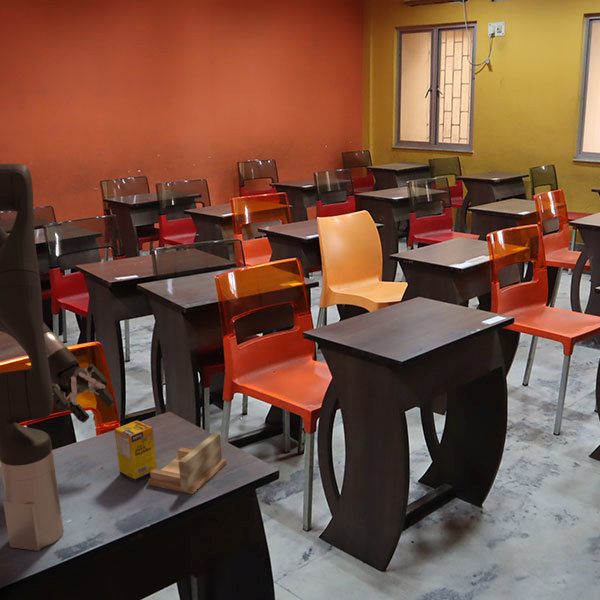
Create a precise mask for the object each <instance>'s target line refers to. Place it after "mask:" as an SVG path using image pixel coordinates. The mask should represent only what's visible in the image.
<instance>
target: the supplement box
mask: <svg viewBox="0 0 600 600" xmlns="http://www.w3.org/2000/svg"><path fill="white" fill-rule="evenodd" d="M153 429H154V428H153V427H152V426H151V425H148V424H145V423H143V422H141V421H139V420H134V421H131V422H129V423H126V424H124V425H122V426H121V425H120V426H119V427H116V428H114V435H115V436H114V437H115V443H116V444H115V445H116V452H117V460H118V469H119V475H121V476H123V477H125V478H127V479H128V480H130V481H132V482H133V483H136V482H139V481H141V480H143V479H145V478H147V477H151V475H150V472H151V471H152V470H153V469H158V468H157V467H158V466H157V461H156V459H157V457H156V449H155V440H154V432H153V431H154V430H153Z"/></svg>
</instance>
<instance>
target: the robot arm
mask: <svg viewBox="0 0 600 600" xmlns="http://www.w3.org/2000/svg"><path fill="white" fill-rule="evenodd" d="M33 188H34V187H33V179H32V175H31V171H30V169H29V167H28V166H27V165H25V164H22V163H0V212H13V211H15V212H16V216H15V220H14V222H13V226H12V228H11V230H10V232H9V234H8V233H7V232H6V231H5V229H4V228H2V227H1V225H0V330H1V331H3V332H4V333H6V334H7V335H9V336H10V337H11V338H13V339H14V340H15V341H16V342H17V343H18V345H19V346H20V347H21V348H22V350H24V351H25V354H26V355H27V358H28V360H29V362H30V368H27V369H19V370H11V371H9V370H8V371H3V372H0V470H1V477H2V482H3V483H2V484H3V489H4V496H5V500H4V501H3V502H2V505H3V512H4V517H5V522H6V523H5V524H6V530H7V537H8V542H9V547H10V548H14V549H22V550H30V551H36V552H38V551H41V549H43V548H45V547H47V546H49V545H52V544H54V543H56V541H58V540H59V539H60V538H61V537H62V536H63V534H64V532H65V531H64V524H63V517H62V510H61V502H60V495H59V487H58V480H57V475H56V474H57V473H56V467H55V459H54V452H53V446H52V439H51V436H50V435H49V433H47V432H45V431H44V430H40V429H38V428H37V429H36V428H32V427H27V426H24V425H21V424H19V423H20V422H21V423H22V422H29V421H35V420H41V419H47V418H48V417H50V416H51V415H52V414H53V409H54V405H55V407H56V408H57V409H58V410H59V412H61V413H64V412H65V411H68V412H71V413H72V414H73V415H74V416H75V418H76V419H77V420H78V421H79V422H81V423H82V424H83V423H85V422H87V421H88V420H89V419H90V415H89V414H88V413H87V412H86V410H85V409H84V408H83V407H82V406H81V404H80V403H78V399H77V396H78V395H79V394H83V393H84V392H87V393H90V392H91V393H93V394H96V395H97V397H98V398H99V399H100V400H101V402H102V403H103V404H104V405H105V406H106V407H107V408H110V407H112V406H113V405H114V403H115V400H114V397H113V396H112V395H111V394H110V392H109V391H108V390H107V388H106V387H107V385H108V384H110V383H109V380H108V379H107V378H106V376H105V375H103V373H102V372H101V371H100V370H99V369H98V368H97V367H96V366H95V365H94V364H92V363H90V364H89V365H88V366H87V367H86V368H82V367H81V366H80V364H79V363H80V362H79V360H78V359H77V357H76V356H75V355H74V354H73V353H72V352H71V351H70V349H69V348H68V347H67V346H66V345H65V343H63V341H62V340H61V339H60V338H59V337H58V335H56V334H55V333H54V332H53V331H52V330H51V329H50V328H49V327H48V325H47V324H46V323H45V322H44V318H43V317H44V316H43V315H44V314H43V298H42V287H41V276H40V269H39V261H38V255H37V247H36V237H35V236H36V235H35V234H36V233H35V217H34V215H35V214H34V212H35V210H34V189H33Z"/></svg>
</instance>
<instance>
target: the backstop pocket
mask: <svg viewBox="0 0 600 600" xmlns="http://www.w3.org/2000/svg"><path fill="white" fill-rule="evenodd" d="M221 441H222V440H221V434H220V433H215V432H213V433H212V434H211V435H210V436H208V437H207V438H206V439H205V440H203V441H202V442H201V443H200V444H198V445H196V447H194V448H193V449H192V448H188V447H180V448H179V449H177V456H176V458H174V459H173V460H171V461H170V462H169V463H168V464H166V465H165V466H164V467H162V468H161V469H159V468H157V469H153V470H152V471H151V472H150V478H149V479H147V483H148V484H147V485H148V486H153V487H154V486H155V487H158V486H159V488H163V489H168V490H172V491H176V492H181V493H185V494H186V493H187V494H189V495H193V494H195V493H196V492H197V491H198V490H199V488H201V487H202V486H203V485H205V484H206V483H207V481H209V480H210V479H211V478H213V476H214V475H215V474H217V472H219V471H220V470H221V469H222V468H223V467H224V466H225V465H227V459H226V458H225V459H224V458H223V457H222V456H223V455H222V442H221ZM197 489H198V490H197Z"/></svg>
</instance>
